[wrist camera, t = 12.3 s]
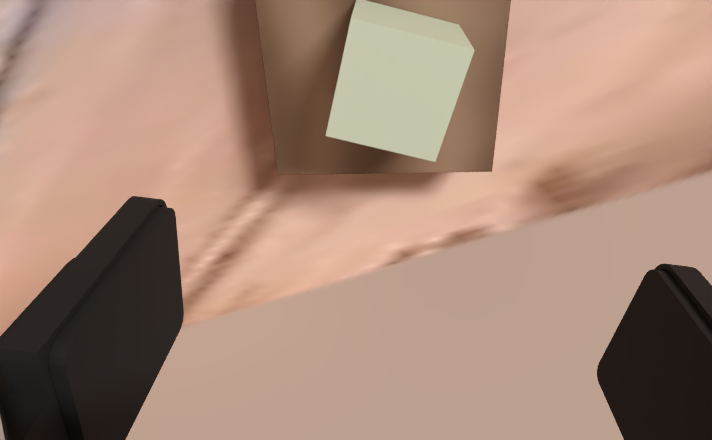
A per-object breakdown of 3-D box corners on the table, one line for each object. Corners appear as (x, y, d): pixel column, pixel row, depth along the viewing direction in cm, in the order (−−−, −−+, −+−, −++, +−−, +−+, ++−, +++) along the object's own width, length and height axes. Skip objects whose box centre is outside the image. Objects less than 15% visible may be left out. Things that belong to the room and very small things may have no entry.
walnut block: (496, -81, 26) (519, -80, 22) (477, 137, 32) (491, 171, 28) (267, -71, 27) (246, -68, 23) (291, 141, 33) (277, 174, 29)
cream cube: (458, 24, 24) (474, 49, 20) (427, 121, 27) (435, 162, 23) (356, -3, 24) (350, 18, 20) (335, 98, 26) (325, 136, 22)
